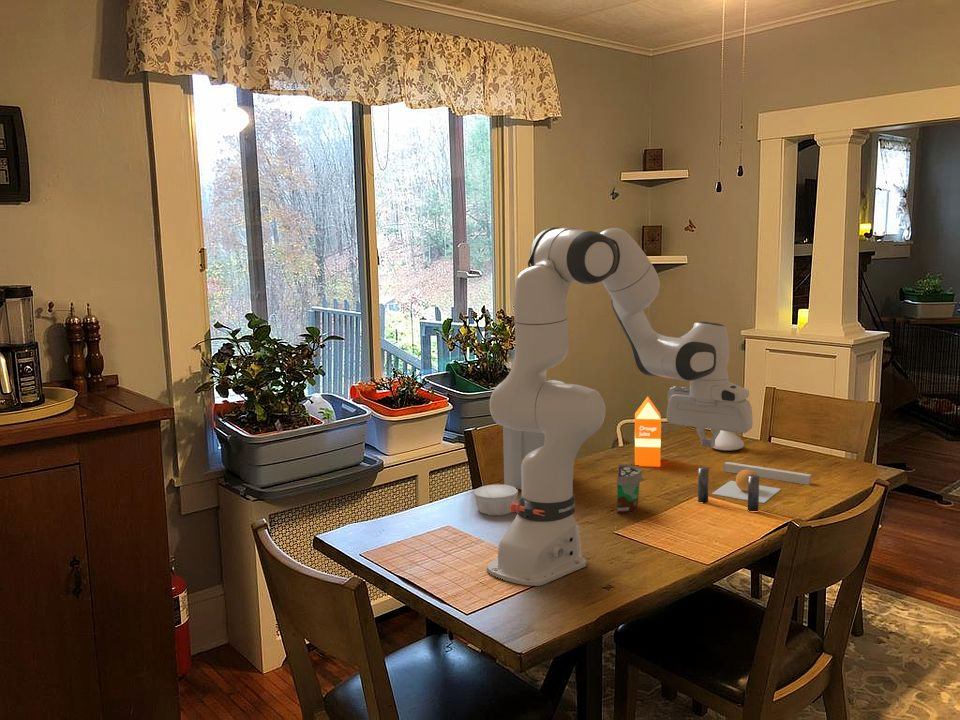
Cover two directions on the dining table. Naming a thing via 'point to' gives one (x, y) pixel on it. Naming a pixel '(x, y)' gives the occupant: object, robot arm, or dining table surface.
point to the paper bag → (519, 451)
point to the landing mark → (734, 492)
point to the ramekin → (495, 499)
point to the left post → (703, 484)
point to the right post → (753, 492)
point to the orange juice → (647, 435)
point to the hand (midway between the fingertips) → (707, 446)
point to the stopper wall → (769, 473)
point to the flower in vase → (728, 441)
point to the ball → (743, 479)
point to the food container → (628, 488)
